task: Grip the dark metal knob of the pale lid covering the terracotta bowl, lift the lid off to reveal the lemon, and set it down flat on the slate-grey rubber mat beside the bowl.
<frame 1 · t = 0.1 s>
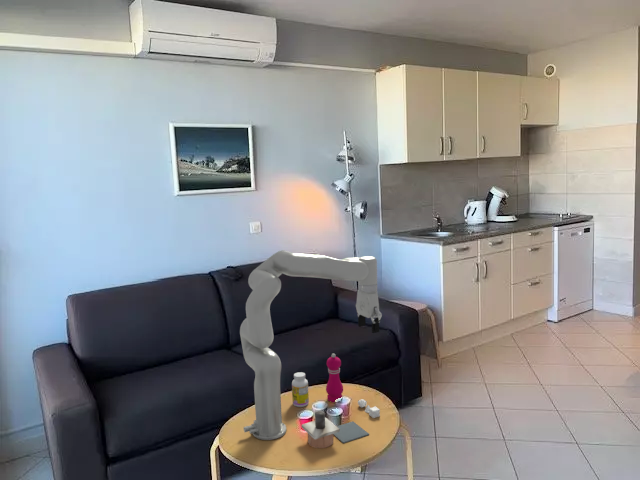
hand: (368, 329, 213), 31 cm above the table, tool pointing down, fingers open, 9 cm apart
bowl: (320, 441, 189), on the table
game pieces: (368, 412, 210), on the table
pepper mill: (334, 399, 221), on the table
mat: (348, 432, 194), on the table
lid: (320, 429, 188), point 4 cm above the table, touching bowl
supplement bottle: (300, 404, 218), on the table
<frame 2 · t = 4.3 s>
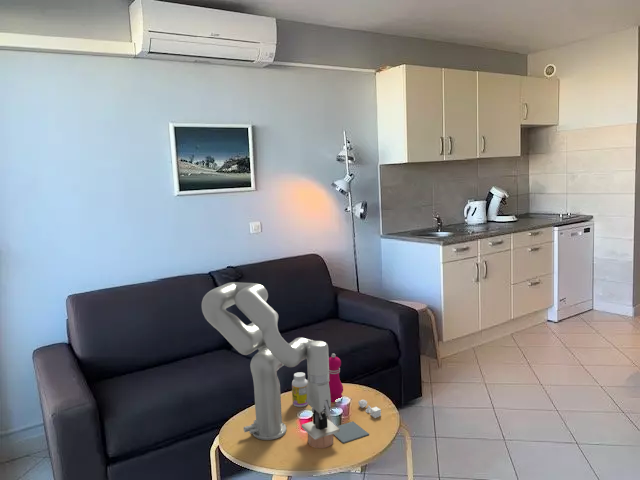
hand: (320, 425, 188), 6 cm above the table, tool pointing down, fingers closed on lid, 3 cm apart
lid: (320, 429, 188), point 4 cm above the table, touching bowl, gripper
everything else where it was.
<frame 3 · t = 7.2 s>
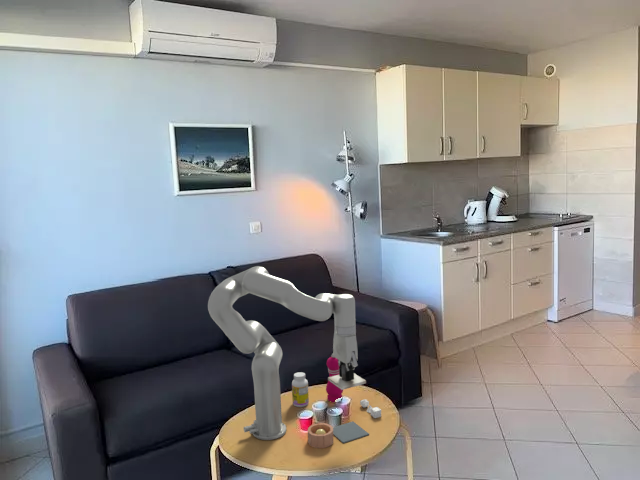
hand: (346, 377, 191), 21 cm above the table, tool pointing down, fingers closed on lid, 3 cm apart
lid: (346, 381, 191), point 20 cm above the table, touching gripper
everything else where it was.
when the fingers open (3 cm above the table, at t = 10.2 s): lid drops 1 cm, resting on mat.
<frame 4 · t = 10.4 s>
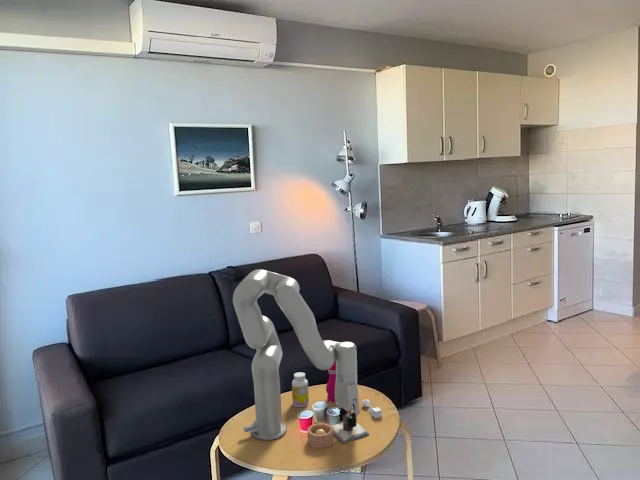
hand: (348, 423, 194), 4 cm above the table, tool pointing down, fingers open, 5 cm apart
lid: (348, 431, 194), resting on mat
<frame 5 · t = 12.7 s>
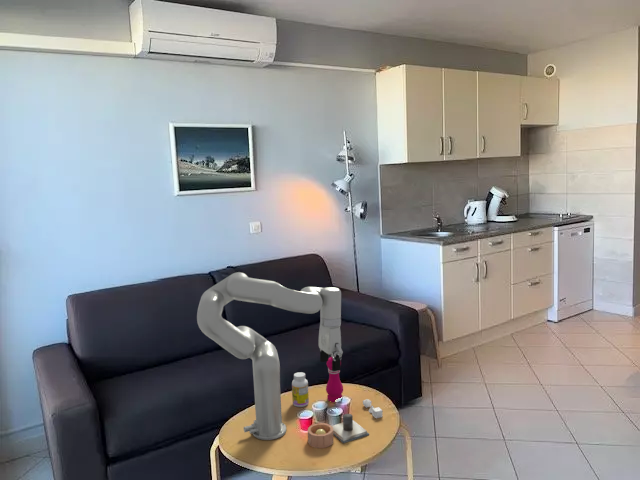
hand: (330, 365, 197), 23 cm above the table, tool pointing down, fingers open, 9 cm apart
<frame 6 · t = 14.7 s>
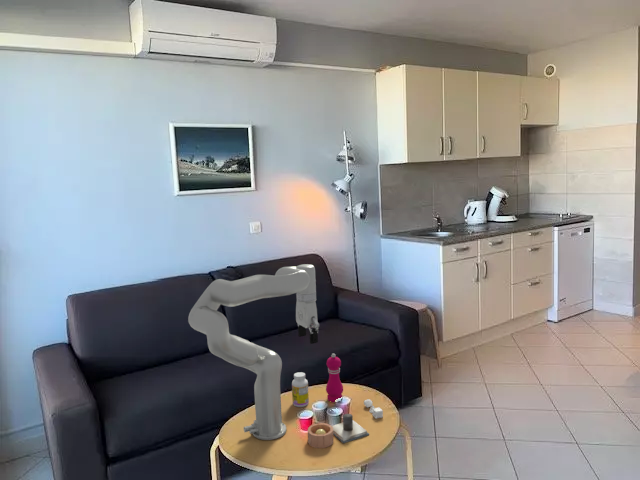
hand: (308, 339, 206), 30 cm above the table, tool pointing down, fingers open, 9 cm apart
at the end: lid inside the target area on the mat (0.0 cm from its centre), point 0.4 cm above the mat's base; lid tilted 0°; the gripper is holding nothing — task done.
